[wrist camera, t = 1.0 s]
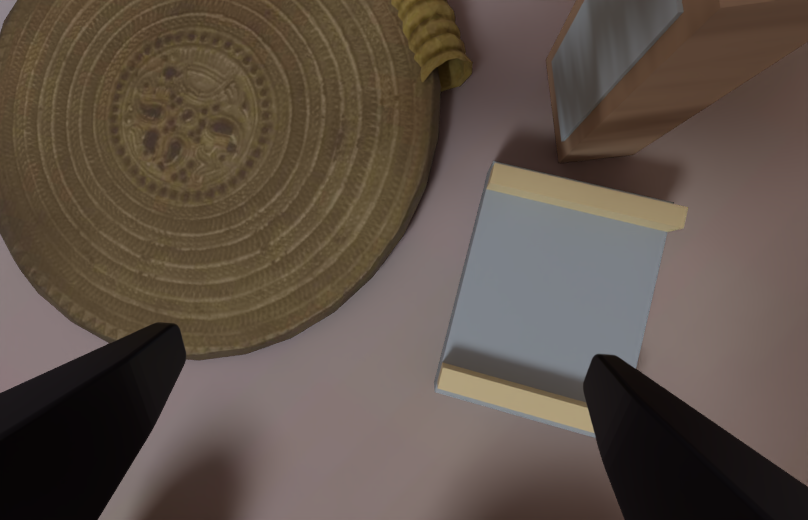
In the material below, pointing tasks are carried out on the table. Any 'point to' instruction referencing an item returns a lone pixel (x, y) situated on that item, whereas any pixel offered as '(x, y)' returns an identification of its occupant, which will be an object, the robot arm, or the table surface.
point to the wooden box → (657, 65)
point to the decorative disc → (216, 156)
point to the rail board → (551, 292)
